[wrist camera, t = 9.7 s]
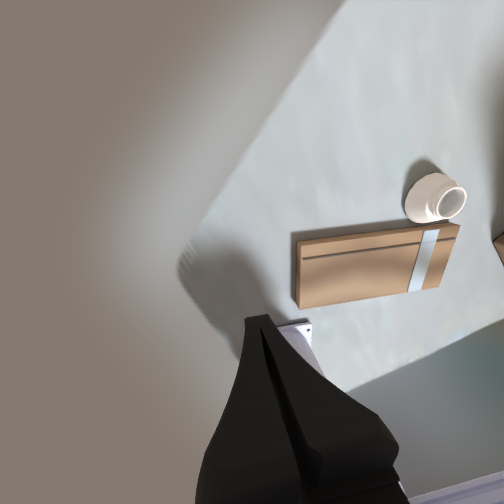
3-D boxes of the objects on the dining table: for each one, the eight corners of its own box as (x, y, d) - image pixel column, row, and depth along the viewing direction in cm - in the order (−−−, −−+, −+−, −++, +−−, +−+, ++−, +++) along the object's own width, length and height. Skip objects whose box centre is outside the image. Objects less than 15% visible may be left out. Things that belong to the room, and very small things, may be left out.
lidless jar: (449, 202, 23) (439, 162, 21) (480, 207, 20) (472, 162, 18) (409, 229, 24) (395, 193, 22) (433, 238, 21) (420, 198, 19)
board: (429, 281, 27) (439, 287, 26) (295, 303, 25) (299, 310, 24) (449, 222, 24) (461, 225, 23) (296, 241, 22) (301, 246, 21)
